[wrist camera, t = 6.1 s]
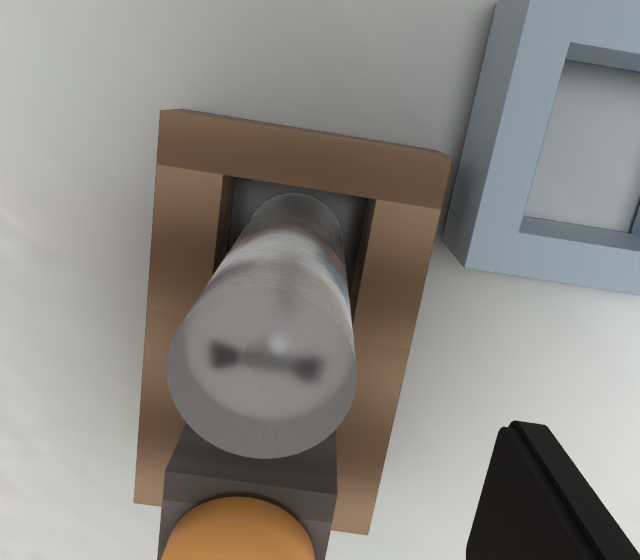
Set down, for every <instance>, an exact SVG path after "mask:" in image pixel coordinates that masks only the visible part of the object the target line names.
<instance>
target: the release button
mask: <svg viewBox="0 0 640 560" xmlns="http://www.w3.org/2000/svg"><path fill="white" fill-rule="evenodd" d="M161 560H315V556H314V549H313V545H312V542H311V540H310V537H309V535H308V534H307V532H306V530H305V529H304V528H303V526H302V525H301V524H300V523H299V522H298V521H297V520H296V519H295V518H294V517H293V516H292V515H290V514H289V513H288V512H287V511H285V510H283V509H281V508H280V507H278V506H276V505H274V504H271V503H269V502H266V501H263V500H260V499H255V498H249V497H225V498H218V499H214V500H211V501H208V502H205V503H203V504H200V505H198V506H197V507H195V508H193V509H192V510H190V511H189V512H187V513H186V514H185V515H184V516H183V517H182V518H181V519H180V520H179V521H178V522H177V524H176V525H175V526H174V528H173V530H172V532H171V534H170V537H169V539H168V542H167V545H166V548H165V550H164V553H163V556H162V559H161Z"/></svg>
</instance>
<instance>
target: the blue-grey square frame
mask: <svg viewBox="0 0 640 560" xmlns="http://www.w3.org/2000/svg"><path fill="white" fill-rule="evenodd" d="M565 59H567V60H573V61H579V62H584V63H590V64H596V65H602V66H608V67H614V68H620V69H626V70H631V71H637V72H640V0H499V1H497V2H496V7H495V11H494V15H493V20H492V24H491V29H490V33H489V37H488V42H487V46H486V50H485V55H484V59H483V63H482V68H481V72H480V77H479V81H478V85H477V90H476V94H475V98H474V103H473V107H472V111H471V116H470V120H469V125H468V129H467V133H466V138H465V142H464V146H463V151H462V155H461V159H460V164H459V168H458V173H457V177H456V181H455V186H454V190H453V194H452V199H451V203H450V207H449V212H448V216H447V221H446V225H445V229H444V234H443V238H442V241H443V242H444V244H445V245H446V246H447V247H448V248H449V250H450V251H451V252H452V253H453V255H454V256H455V257H456V258H457V259H458V261H459V262H460V263H461V264H462V266H463V267H464V268H468V269H474V270H481V271H487V272H494V273H500V274H507V275H513V276H519V277H526V278H532V279H539V280H545V281H552V282H558V283H564V284H571V285H577V286H584V287H590V288H596V289H603V290H609V291H616V292H622V293H629V294H635V295H640V206H639V209H638V212H637V215H636V218H635V221H634V224H633V227H632V230H631V233H625V232H619V231H613V230H606V229H600V228H594V227H587V226H581V225H575V224H569V223H562V222H556V221H550V220H544V219H537V218H531V217H525V216H523V214H524V210H525V207H526V203H527V199H528V195H529V192H530V188H531V184H532V181H533V177H534V173H535V170H536V166H537V162H538V159H539V155H540V151H541V147H542V144H543V140H544V136H545V133H546V129H547V125H548V122H549V118H550V114H551V111H552V107H553V103H554V99H555V96H556V92H557V88H558V85H559V81H560V77H561V74H562V70H563V66H564V63H565Z"/></svg>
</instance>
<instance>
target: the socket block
mask: <svg viewBox="0 0 640 560" xmlns="http://www.w3.org/2000/svg"><path fill="white" fill-rule="evenodd" d="M452 159H453V158H452V157H450V156H448V155H445V154H443V153H441V152H439V151H437V150H431V149H424V148H418V147H412V146H406V145H400V144H394V143H388V142H382V141H375V140H369V139H363V138H357V137H351V136H345V135H339V134H332V133H326V132H320V131H314V130H308V129H302V128H296V127H289V126H283V125H277V124H271V123H265V122H259V121H253V120H247V119H240V118H234V117H228V116H222V115H216V114H210V113H204V112H197V111H191V110H185V109H174V110H160V121H159V135H158V150H157V165H156V180H155V195H154V209H153V224H152V239H151V254H150V269H149V284H148V298H147V313H146V328H145V343H144V358H143V372H142V387H141V402H140V417H139V432H138V447H137V461H136V476H135V491H134V503H138V504H145V505H153V506H160V507H162V510H161V522H160V534H159V545H158V557H157V560H161V559H162V556H163V553H164V550H165V548H166V545H167V542H168V539H169V537H170V534H171V532H172V530H173V528H174V526H175V525H176V524H177V522H178V521H179V520H180V519H181V518H182V517H183V516H184V515H185V514H186V513H187V512H189V511H190V510H192V509H193V508H195V507H197V506H198V505H200V504H203V503H205V502H208V501H211V500H214V499H218V498H225V497H249V498H255V499H260V500H263V501H266V502H269V503H271V504H274V505H276V506H278V507H280V508H281V509H283V510H285V511H287V512H288V513H289V514H290V515H292V516H293V517H294V518H295V519H296V520H297V521H298V522H299V523H300V524H301V525H302V526H303V528H304V529H305V530H306V532H307V534H308V535H309V537H310V540H311V542H312V545H313V549H314V556H315V560H325V556H326V551H327V546H328V541H329V536H330V531H331V530H334V531H341V532H348V533H355V534H363V535H368V533H369V528H370V524H371V519H372V515H373V511H374V506H375V502H376V497H377V493H378V488H379V484H380V479H381V475H382V471H383V466H384V462H385V457H386V453H387V448H388V444H389V439H390V435H391V431H392V426H393V422H394V417H395V413H396V408H397V404H398V399H399V395H400V391H401V386H402V382H403V377H404V373H405V368H406V364H407V359H408V355H409V351H410V346H411V342H412V337H413V333H414V328H415V324H416V319H417V315H418V311H419V306H420V302H421V297H422V293H423V288H424V284H425V279H426V275H427V271H428V266H429V262H430V257H431V253H432V248H433V244H434V239H435V235H436V231H437V226H438V222H439V217H440V213H441V208H442V204H443V199H444V195H445V191H446V186H447V182H448V177H449V173H450V168H451V164H452ZM235 177H240V178H246V179H252V180H259V181H265V182H271V183H277V184H284V185H290V186H296V187H303V188H309V189H315V190H321V191H328V192H334V193H340V194H347V195H353V196H359V197H365V198H368V203H367V208H366V214H365V219H364V224H363V230H362V235H361V241H360V246H359V252H358V257H357V262H356V268H355V273H354V279H353V284H352V290H351V295H350V300H349V302H350V311H351V321H352V330H353V339H354V348H355V357H356V367H357V384H356V391H355V395H354V399H353V402H352V404H351V407H350V409H349V411H348V413H347V415H346V416H345V418H344V420H343V421H342V422H341V424H340V425H339V426H338V427H337V429H336V430H335V431H334V432H333V433H332V434H330V435H329V436H328V437H327V438H326V439H324V440H323V441H322V442H320V443H319V444H317V445H315V446H314V447H312V448H310V449H308V450H305V451H303V452H300V453H298V454H294V455H291V456H287V457H280V458H270V459H260V458H250V457H245V456H240V455H236V454H233V453H230V452H227V451H225V450H223V449H220V448H218V447H216V446H214V445H213V444H211V443H209V442H208V441H206V440H205V439H204V438H202V437H201V436H200V435H198V434H197V433H196V432H195V431H194V430H193V429H192V428H191V427H190V426H189V425H188V424H187V423H186V421H185V420H184V419H183V418H182V416H181V414H180V413H179V411H178V410H177V408H176V406H175V404H174V401H173V399H172V397H171V394H170V390H169V386H168V380H167V359H168V353H169V349H170V346H171V343H172V340H173V338H174V336H175V334H176V332H177V330H178V329H179V327H180V326H181V324H182V322H183V321H184V319H185V318H186V316H187V315H188V313H189V312H190V310H191V309H192V307H193V306H194V304H195V303H196V301H197V299H198V298H199V296H200V295H201V293H202V292H203V290H204V289H205V287H206V286H207V284H208V283H209V281H210V280H211V278H212V277H213V275H214V273H215V272H216V270H217V269H218V267H219V266H220V264H221V263H222V261H223V260H224V258H225V257H226V254H227V245H228V236H229V227H230V218H231V209H232V200H233V191H234V182H235Z"/></svg>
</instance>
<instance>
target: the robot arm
mask: <svg viewBox="0 0 640 560" xmlns="http://www.w3.org/2000/svg"><path fill="white" fill-rule="evenodd" d="M466 560H640V554H639V553H638V551H637V550H636V549H635V547H634V546H633V545H632V543H631V542H630V540H629V539H628V538H627V536H626V535H625V533H624V532H623V531H622V529H621V528H620V527H619V525H618V524H617V522H616V521H615V520H614V518H613V517H612V515H611V514H610V513H609V511H608V510H607V509H606V507H605V506H604V504H603V503H602V502H601V500H600V499H599V497H598V496H597V495H596V493H595V492H594V491H593V489H592V488H591V486H590V485H589V484H588V482H587V481H586V479H585V478H584V477H583V475H582V474H581V472H580V471H579V470H578V468H577V467H576V466H575V464H574V463H573V461H572V460H571V459H570V457H569V456H568V454H567V453H566V452H565V450H564V449H563V448H562V446H561V445H560V443H559V442H558V441H557V439H556V438H555V436H554V435H553V434H552V432H551V431H550V430H549V428H548V427H547V426H546V425H542V424H535V423H528V422H521V421H512V422H511V423H510V425H509V427H502V428H501V429H500V430H499V432H498V435H497V439H496V442H495V446H494V449H493V453H492V457H491V460H490V464H489V467H488V471H487V474H486V478H485V482H484V485H483V489H482V492H481V496H480V500H479V503H478V507H477V510H476V514H475V518H474V521H473V525H472V528H471V532H470V536H469V539H468V543H467V547H466Z"/></svg>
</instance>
